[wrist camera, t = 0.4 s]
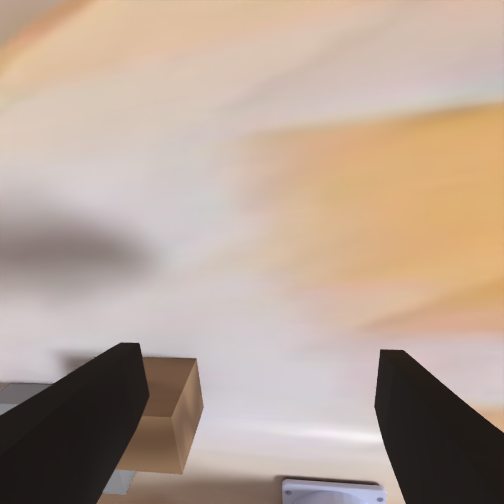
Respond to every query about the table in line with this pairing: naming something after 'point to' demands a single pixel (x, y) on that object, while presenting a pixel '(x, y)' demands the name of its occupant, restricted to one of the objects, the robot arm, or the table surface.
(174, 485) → the table surface
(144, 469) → the walnut block
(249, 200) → the table surface
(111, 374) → the robot arm
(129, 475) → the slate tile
